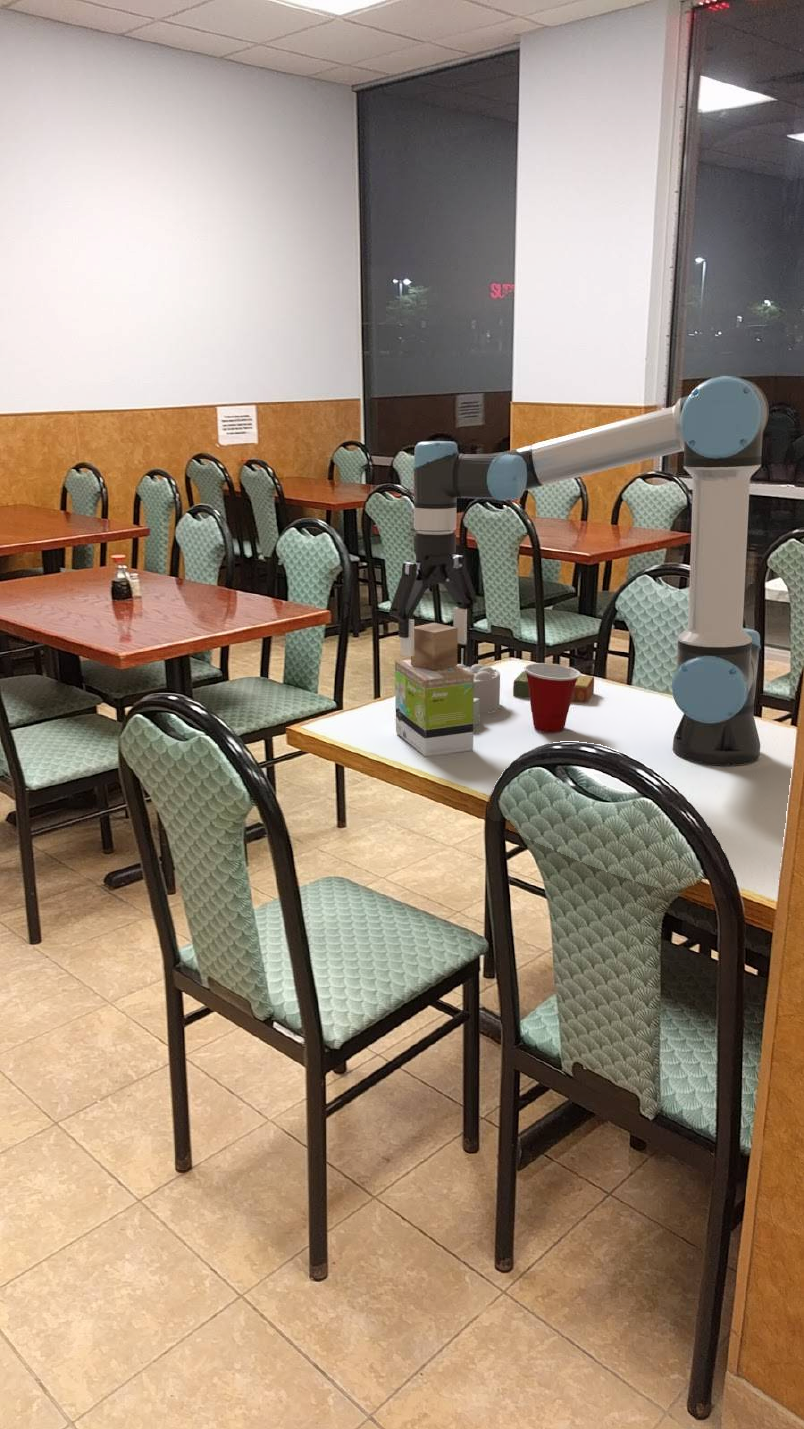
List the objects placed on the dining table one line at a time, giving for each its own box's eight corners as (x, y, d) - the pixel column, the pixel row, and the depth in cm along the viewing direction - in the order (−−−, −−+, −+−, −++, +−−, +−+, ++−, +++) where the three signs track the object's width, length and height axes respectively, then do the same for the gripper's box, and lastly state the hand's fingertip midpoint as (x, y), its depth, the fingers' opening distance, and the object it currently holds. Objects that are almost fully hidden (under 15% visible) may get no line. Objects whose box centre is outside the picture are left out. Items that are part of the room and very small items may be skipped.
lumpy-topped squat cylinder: (431, 707, 224) (431, 667, 221) (478, 697, 231) (479, 657, 229) (463, 719, 216) (464, 677, 213) (511, 708, 223) (512, 667, 221)
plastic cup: (577, 738, 203) (579, 676, 200) (519, 735, 206) (521, 674, 202) (579, 722, 214) (582, 663, 210) (524, 719, 216) (526, 660, 212)
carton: (586, 705, 227) (587, 685, 225) (512, 698, 232) (512, 679, 230) (593, 694, 234) (594, 675, 233) (521, 688, 239) (521, 669, 238)
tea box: (393, 734, 206) (393, 659, 202) (441, 728, 210) (442, 654, 206) (424, 758, 193) (424, 678, 189) (475, 751, 197) (476, 672, 192)
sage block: (479, 723, 213) (479, 698, 212) (467, 729, 209) (467, 704, 208) (456, 719, 216) (457, 695, 215) (444, 725, 212) (445, 701, 210)
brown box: (457, 665, 198) (457, 627, 196) (434, 670, 194) (434, 632, 192) (433, 659, 202) (433, 622, 200) (410, 665, 198) (410, 627, 196)
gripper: (467, 523, 202) (465, 635, 208) (368, 535, 185) (369, 656, 191) (497, 527, 196) (495, 641, 202) (398, 540, 180) (398, 664, 186)
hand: (434, 649), depth 197 cm, fingers open, 13 cm apart
